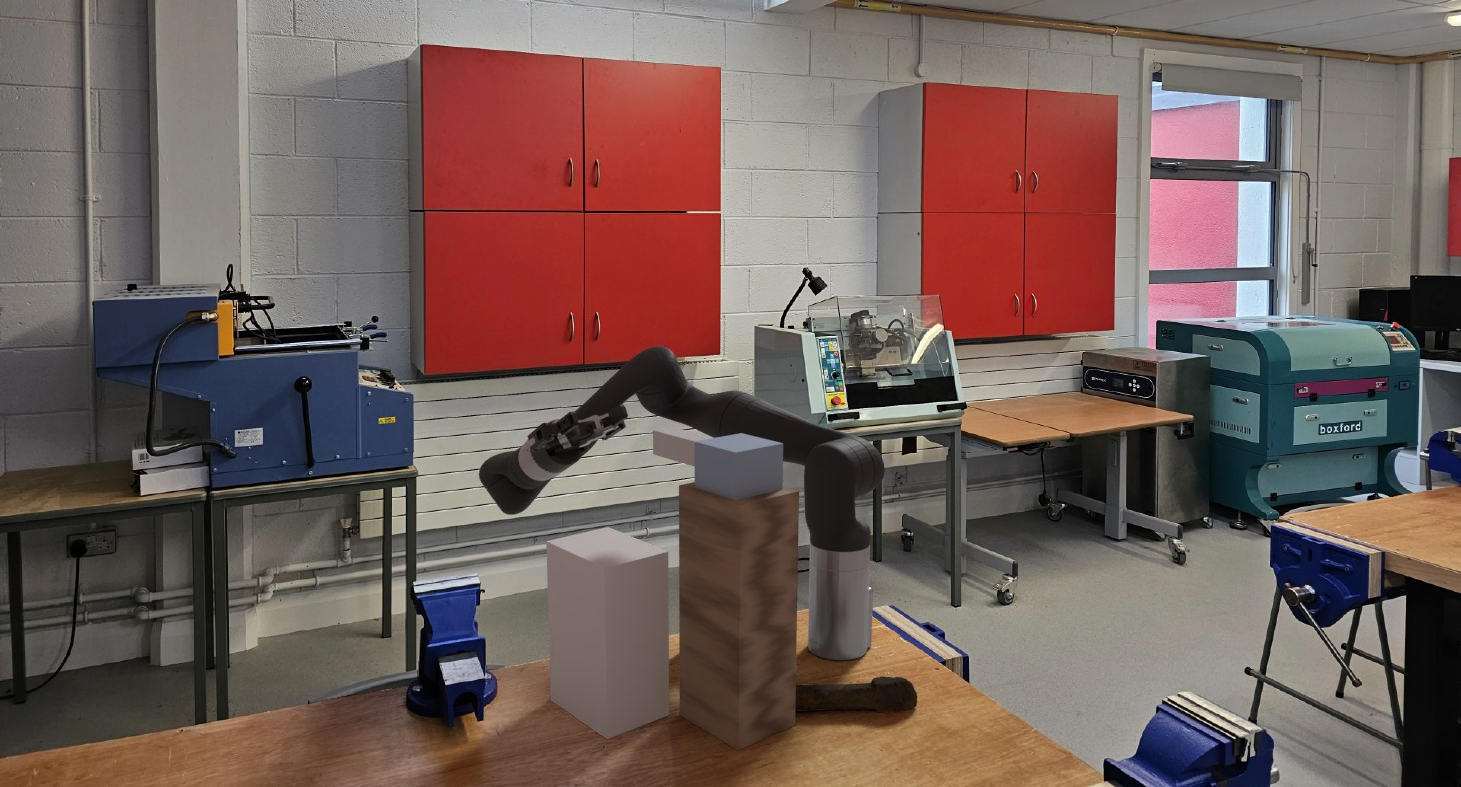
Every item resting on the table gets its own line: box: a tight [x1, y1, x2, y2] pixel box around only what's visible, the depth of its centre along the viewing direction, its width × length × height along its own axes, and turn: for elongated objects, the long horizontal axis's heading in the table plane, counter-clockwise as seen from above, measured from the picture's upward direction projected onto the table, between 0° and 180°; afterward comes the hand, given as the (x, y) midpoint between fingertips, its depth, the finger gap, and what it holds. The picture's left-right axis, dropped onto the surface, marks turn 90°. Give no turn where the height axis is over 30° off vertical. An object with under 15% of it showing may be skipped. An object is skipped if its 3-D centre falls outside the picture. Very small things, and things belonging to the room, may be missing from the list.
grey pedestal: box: [545, 526, 670, 740], centre depth 137 cm, size 10×14×23 cm
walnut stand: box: [678, 481, 800, 751], centre depth 133 cm, size 10×12×32 cm
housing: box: [652, 426, 784, 500], centre depth 134 cm, size 8×20×6 cm, turn 41°
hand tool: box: [795, 676, 918, 714], centre depth 138 cm, size 19×4×5 cm, turn 90°
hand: (600, 414), depth 148 cm, fingers open, 8 cm apart
